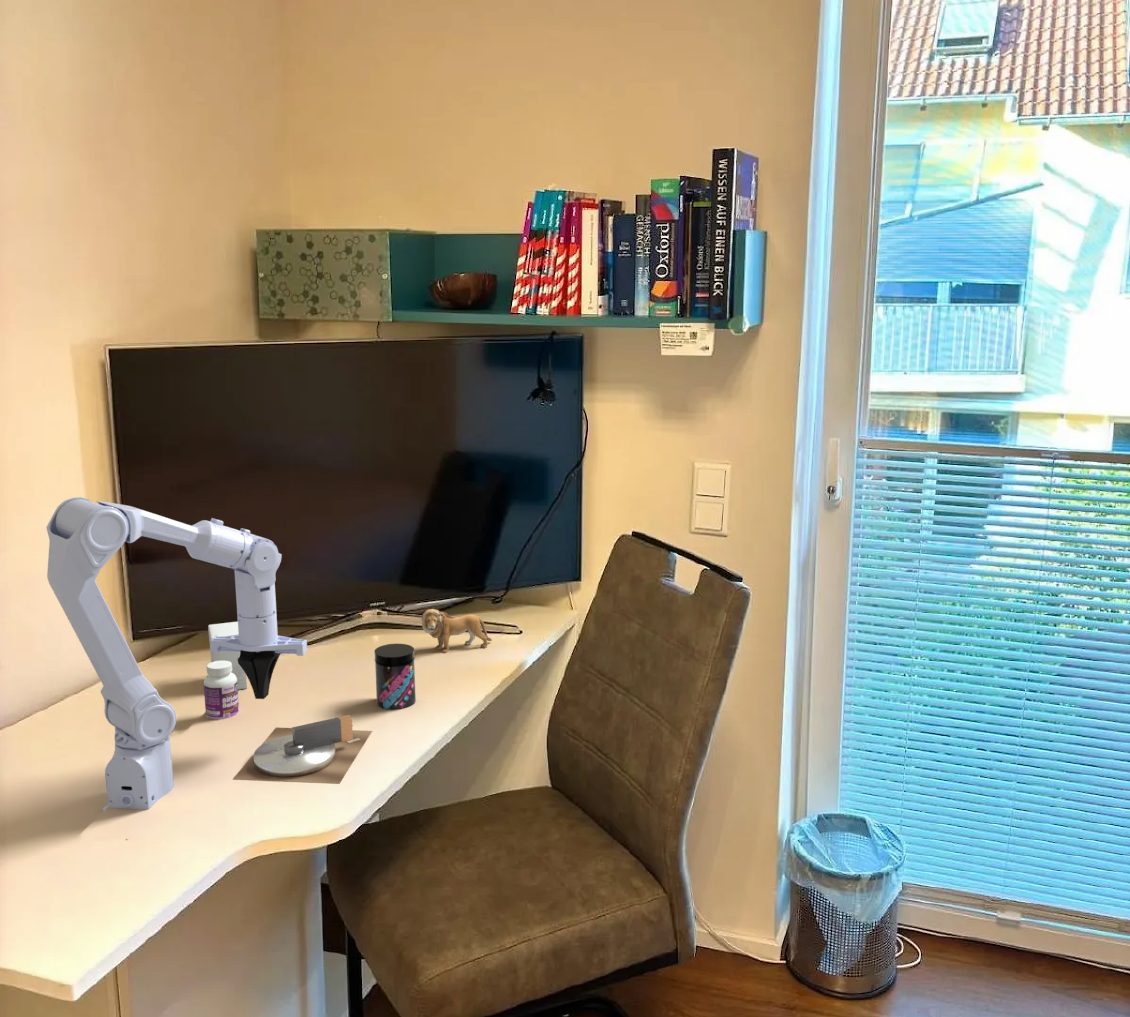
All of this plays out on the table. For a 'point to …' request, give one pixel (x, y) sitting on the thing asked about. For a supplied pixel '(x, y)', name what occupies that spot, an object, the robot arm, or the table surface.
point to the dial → (303, 748)
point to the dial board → (328, 774)
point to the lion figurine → (453, 627)
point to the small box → (230, 656)
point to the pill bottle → (221, 691)
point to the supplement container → (395, 676)
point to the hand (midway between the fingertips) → (261, 696)
